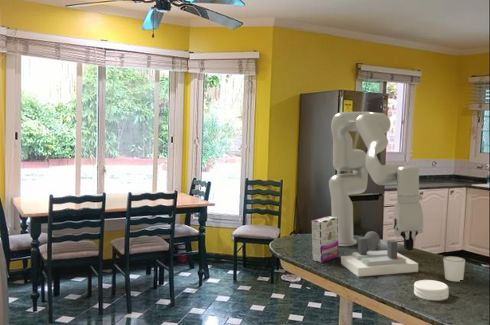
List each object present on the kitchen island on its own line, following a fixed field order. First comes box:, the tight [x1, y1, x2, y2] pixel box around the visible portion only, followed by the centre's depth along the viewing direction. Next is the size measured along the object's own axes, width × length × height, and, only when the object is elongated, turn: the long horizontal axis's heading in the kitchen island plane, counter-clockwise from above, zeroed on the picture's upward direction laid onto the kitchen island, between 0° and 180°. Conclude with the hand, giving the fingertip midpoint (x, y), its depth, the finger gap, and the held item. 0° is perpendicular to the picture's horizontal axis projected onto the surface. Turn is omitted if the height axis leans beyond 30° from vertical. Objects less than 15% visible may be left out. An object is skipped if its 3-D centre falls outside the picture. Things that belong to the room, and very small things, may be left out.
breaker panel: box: [340, 236, 419, 277], centre depth 173 cm, size 16×23×10 cm
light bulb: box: [363, 230, 381, 252], centre depth 189 cm, size 6×6×10 cm
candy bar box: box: [311, 215, 340, 263], centre depth 186 cm, size 11×5×16 cm, turn 131°
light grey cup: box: [443, 255, 466, 282], centre depth 158 cm, size 7×7×7 cm
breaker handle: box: [386, 239, 398, 258], centre depth 169 cm, size 3×2×6 cm
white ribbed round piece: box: [413, 279, 450, 302], centre depth 144 cm, size 10×10×4 cm
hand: (408, 249), depth 170 cm, fingers closed
